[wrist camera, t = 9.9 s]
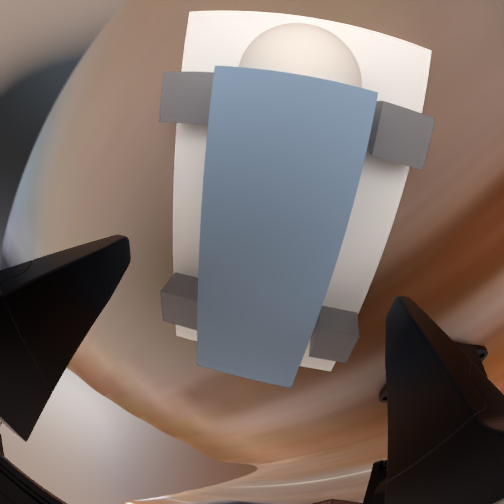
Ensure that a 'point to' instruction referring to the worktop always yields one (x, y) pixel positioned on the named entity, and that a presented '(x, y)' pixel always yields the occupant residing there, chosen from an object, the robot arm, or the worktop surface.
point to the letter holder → (337, 502)
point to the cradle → (371, 180)
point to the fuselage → (277, 197)
